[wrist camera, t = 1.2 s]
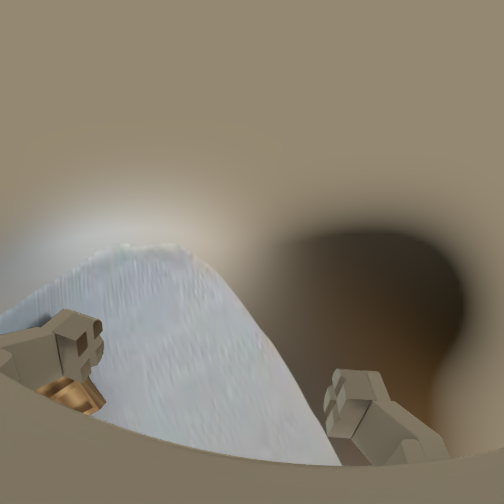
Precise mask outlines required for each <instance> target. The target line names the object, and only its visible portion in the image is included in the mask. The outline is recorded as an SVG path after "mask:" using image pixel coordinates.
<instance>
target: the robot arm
mask: <svg viewBox="0 0 504 504" xmlns="http://www.w3.org/2000/svg"><path fill="white" fill-rule="evenodd" d="M102 331H103V329H102V322H101V321H100V320H99V319H96V318H93V317H90V316H87V315H84V314H81V313H78V312H75V311H72V310H69V309H63V310H62V311H60V312H59V313H58V314H57V315H55V316H54V317H53V318H52V319H51V320H49V321H48V322H47V323H46V324H45V325H43V326H42V327H41V328H40V327H34V328H29V329H25V330H21V331H16V332H12V333H7V334H3V335H0V504H504V448H500V449H497V450H492V451H488V452H484V453H479V454H474V455H469V456H463V457H457V458H450V456H449V453H448V451H447V449H446V446H445V444H444V442H443V440H442V438H441V436H440V435H438V434H437V433H436V432H434V431H433V430H432V429H430V428H429V427H428V426H426V425H425V424H424V423H422V422H421V421H420V420H418V419H417V418H416V417H414V416H413V415H412V414H410V413H409V412H408V411H407V410H405V409H404V408H403V407H401V406H400V405H399V404H397V403H396V402H395V401H391V400H390V398H389V395H388V393H387V390H386V388H385V385H384V383H383V380H382V378H381V375H380V373H378V372H377V371H356V370H345V369H336V371H335V372H334V374H333V377H332V380H333V384H332V385H331V386H330V387H328V389H327V392H326V394H325V399H324V413H325V414H326V415H327V416H328V419H327V421H326V428H327V435H328V437H340V438H352V441H353V442H354V443H355V445H356V446H357V447H358V448H359V449H360V451H361V452H362V453H363V454H364V455H365V457H366V458H367V459H368V460H369V461H370V462H371V464H372V465H373V466H325V465H306V464H293V463H282V462H273V461H265V460H257V459H250V458H243V457H237V456H231V455H226V454H220V453H215V452H210V451H205V450H201V449H196V448H192V447H188V446H183V445H179V444H175V443H172V442H168V441H164V440H161V439H157V438H154V437H150V436H147V435H143V434H140V433H137V432H134V431H131V430H128V429H125V428H122V427H119V426H116V425H113V424H110V423H107V422H105V421H102V420H99V419H97V418H94V417H91V416H89V415H86V414H84V413H81V412H79V411H77V410H74V409H72V408H70V407H67V406H65V405H63V404H61V403H58V402H56V401H54V400H52V399H50V398H48V397H46V396H44V395H42V394H40V393H38V392H36V391H34V390H36V389H39V388H41V387H43V386H45V385H47V384H49V383H51V382H54V381H56V380H58V379H60V378H62V377H63V376H65V377H67V378H70V379H73V380H75V381H78V382H81V383H84V381H85V380H86V379H87V377H88V376H89V375H90V374H91V367H93V366H96V365H98V363H99V362H100V360H101V358H102V355H103V351H104V341H103V340H102V338H101V336H100V335H99V334H100V333H101V332H102Z"/></svg>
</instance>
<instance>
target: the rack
mask: <svg viewBox="0 0 504 504" xmlns="http://www.w3.org/2000/svg"><path fill="white" fill-rule="evenodd" d="M34 391H36V392H38V393H40V394H42V395H44V396H46V397H48V398H50V399H52V400H54V401H56V402H58V403H61V404H63V405H65V406H67V407H70V408H72V409H74V410H77V411H79V412H81V413H84V414H86V415H91V414H93V413H94V412H96V411H98V410H100V409H101V408H102V406H103V405H104V404H105V403H106V401H105V400H104V398H103V397H102V396H101V394H100V393H99V391H98V390H97V389H96V387H95V386H94V384H93V383H92V382H91V380H90V379H89V377H87V379H86V380H85V381H84V383H81V382H78V381H75V380H73V379H70V378H67V377H65V376H63V377H62V378H60V379H58V380H56V381H54V382H51V383H49V384H47V385H45V386H43V387H41V388H39V389H36V390H34Z"/></svg>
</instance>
